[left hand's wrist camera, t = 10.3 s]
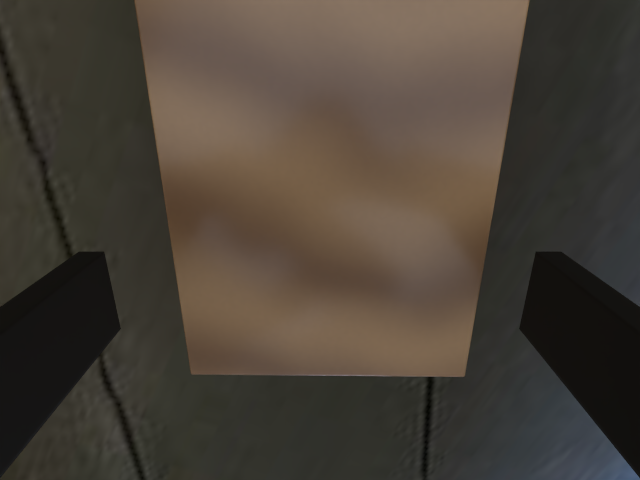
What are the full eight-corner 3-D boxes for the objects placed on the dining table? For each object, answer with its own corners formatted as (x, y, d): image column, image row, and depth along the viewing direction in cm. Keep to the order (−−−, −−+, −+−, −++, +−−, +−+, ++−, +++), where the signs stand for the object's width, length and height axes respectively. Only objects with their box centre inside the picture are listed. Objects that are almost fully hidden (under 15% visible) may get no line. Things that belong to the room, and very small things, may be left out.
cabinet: (198, -219, 16) (46, -570, 7) (463, -221, 16) (631, -580, 7) (239, 267, 24) (190, 375, 15) (414, 268, 24) (465, 377, 15)
